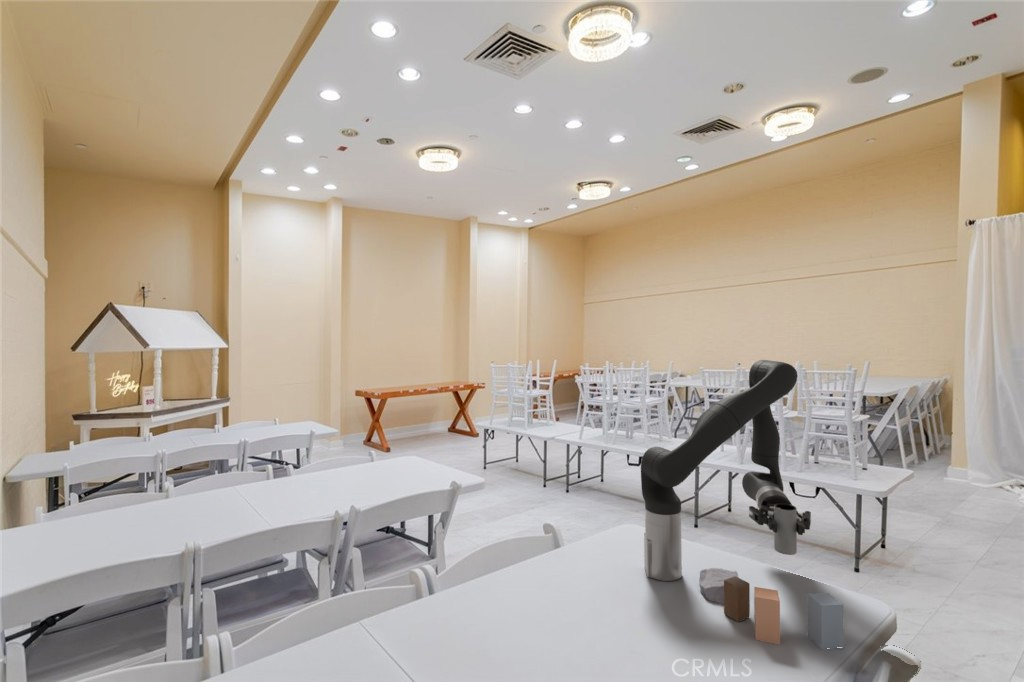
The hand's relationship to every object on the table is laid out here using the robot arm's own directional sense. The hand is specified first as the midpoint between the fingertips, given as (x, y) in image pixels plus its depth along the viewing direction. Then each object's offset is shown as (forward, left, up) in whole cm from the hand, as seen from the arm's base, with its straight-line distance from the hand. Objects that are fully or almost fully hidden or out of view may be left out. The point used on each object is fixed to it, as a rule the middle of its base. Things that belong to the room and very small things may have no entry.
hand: (788, 529), depth 113 cm
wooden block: (-12, -1, -20) cm, 23 cm away
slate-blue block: (+3, -9, -20) cm, 22 cm away
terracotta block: (-8, -8, -20) cm, 23 cm away
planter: (0, +3, -6) cm, 7 cm away
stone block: (-12, +10, -20) cm, 26 cm away
